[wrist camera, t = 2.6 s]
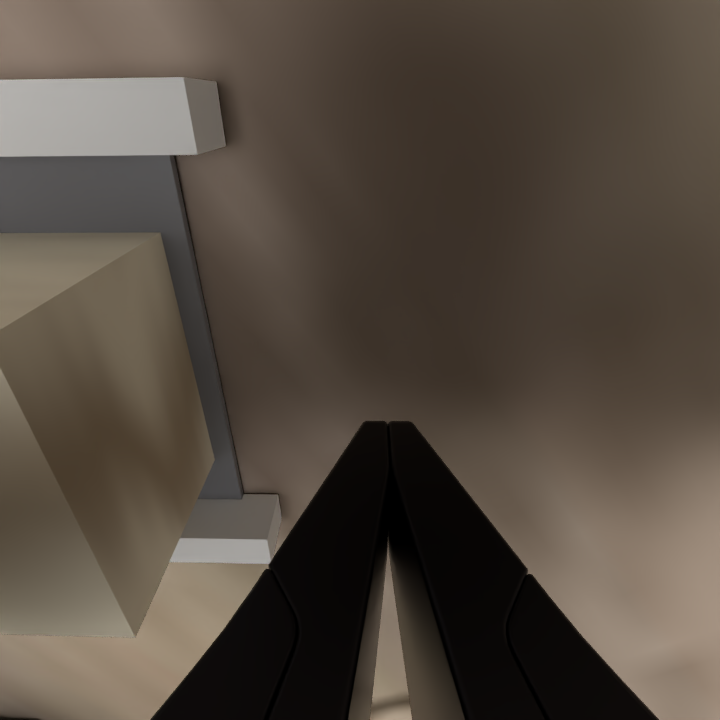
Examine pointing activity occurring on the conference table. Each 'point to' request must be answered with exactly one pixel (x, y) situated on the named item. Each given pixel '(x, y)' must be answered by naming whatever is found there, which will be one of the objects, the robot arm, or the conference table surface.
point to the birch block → (92, 431)
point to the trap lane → (136, 215)
